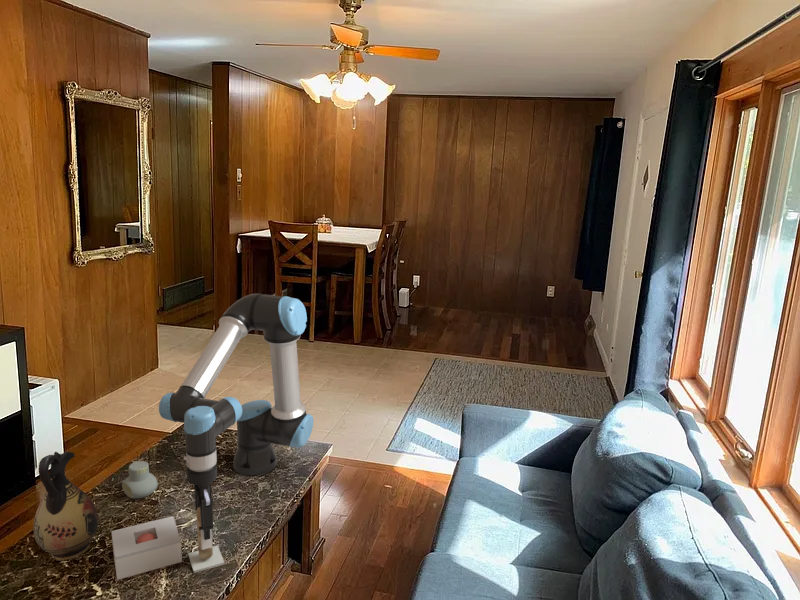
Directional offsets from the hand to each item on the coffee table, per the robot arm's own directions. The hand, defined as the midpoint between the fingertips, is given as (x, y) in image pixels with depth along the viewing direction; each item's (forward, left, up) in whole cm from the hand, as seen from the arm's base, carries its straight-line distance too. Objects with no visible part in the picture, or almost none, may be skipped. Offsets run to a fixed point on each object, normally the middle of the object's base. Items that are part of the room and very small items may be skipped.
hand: (205, 543), depth 163 cm
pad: (0, 0, -5) cm, 5 cm away
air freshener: (+12, -42, -5) cm, 44 cm away
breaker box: (+14, -8, -5) cm, 17 cm away
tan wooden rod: (0, 0, -4) cm, 4 cm away
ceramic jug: (+33, -20, -5) cm, 39 cm away
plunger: (+14, -8, -4) cm, 17 cm away
